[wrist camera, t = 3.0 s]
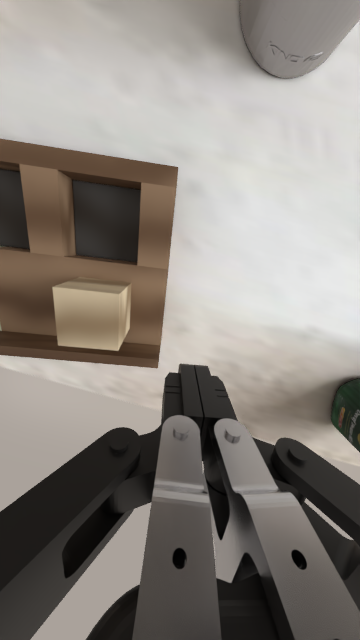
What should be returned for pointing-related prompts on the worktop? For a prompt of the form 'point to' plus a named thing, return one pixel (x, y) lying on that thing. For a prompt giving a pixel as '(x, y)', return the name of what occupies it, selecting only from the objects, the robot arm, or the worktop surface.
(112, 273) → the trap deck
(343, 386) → the coffee jar
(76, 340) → the maple block
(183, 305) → the worktop surface
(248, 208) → the worktop surface
